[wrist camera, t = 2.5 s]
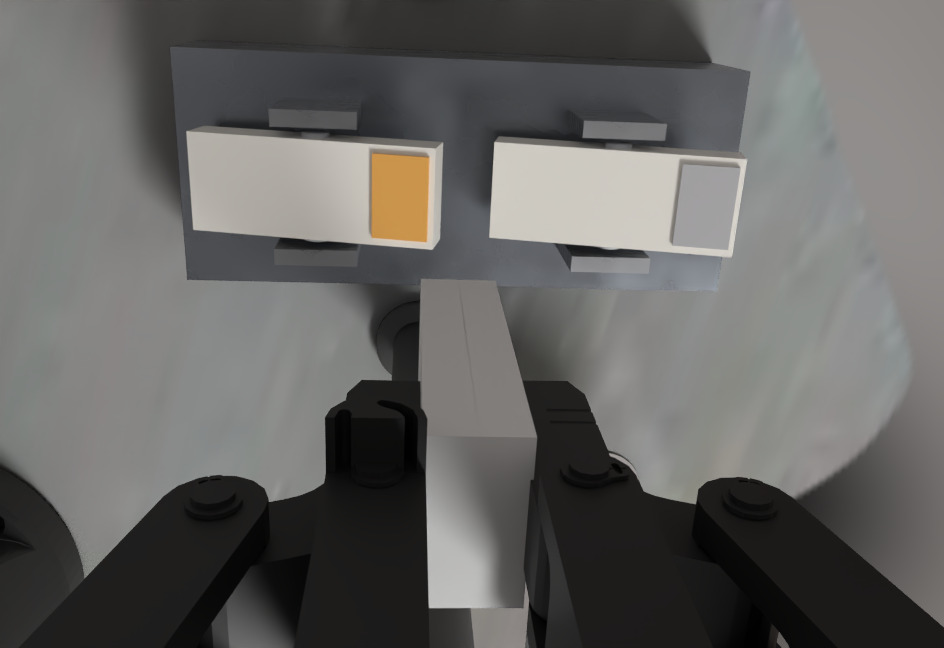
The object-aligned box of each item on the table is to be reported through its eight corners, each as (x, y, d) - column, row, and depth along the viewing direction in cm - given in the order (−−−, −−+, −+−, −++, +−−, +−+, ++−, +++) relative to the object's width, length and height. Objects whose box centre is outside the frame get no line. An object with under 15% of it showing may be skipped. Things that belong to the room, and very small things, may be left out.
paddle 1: (210, 224, 33) (191, 234, 32) (204, 121, 32) (184, 127, 31) (439, 243, 32) (431, 255, 31) (443, 137, 31) (435, 144, 29)
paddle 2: (493, 231, 34) (488, 242, 33) (499, 132, 33) (494, 138, 31) (725, 250, 33) (731, 262, 32) (741, 148, 32) (748, 155, 30)
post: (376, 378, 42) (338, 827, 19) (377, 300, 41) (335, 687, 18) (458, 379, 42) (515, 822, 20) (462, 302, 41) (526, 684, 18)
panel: (210, 248, 39) (166, 306, 32) (197, 40, 36) (145, 52, 29) (685, 260, 41) (743, 317, 34) (712, 63, 38) (783, 79, 31)
